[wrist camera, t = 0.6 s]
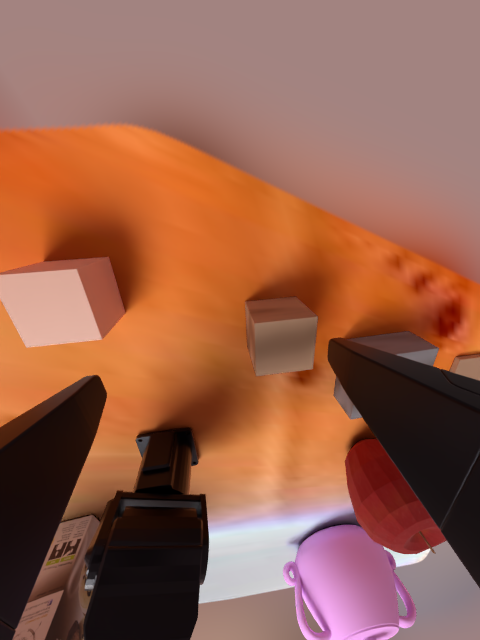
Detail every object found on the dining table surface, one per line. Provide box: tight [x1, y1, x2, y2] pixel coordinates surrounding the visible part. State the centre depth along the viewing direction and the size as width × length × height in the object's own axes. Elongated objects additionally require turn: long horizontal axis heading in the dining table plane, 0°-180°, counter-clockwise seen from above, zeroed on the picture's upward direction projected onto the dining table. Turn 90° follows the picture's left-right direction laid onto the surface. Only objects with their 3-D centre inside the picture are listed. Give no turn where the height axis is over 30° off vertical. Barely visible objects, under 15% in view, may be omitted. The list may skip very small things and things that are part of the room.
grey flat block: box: [334, 331, 439, 419], centre depth 25 cm, size 8×8×4 cm
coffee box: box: [13, 515, 100, 640], centre depth 26 cm, size 9×6×16 cm
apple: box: [345, 439, 447, 554], centre depth 28 cm, size 11×11×12 cm
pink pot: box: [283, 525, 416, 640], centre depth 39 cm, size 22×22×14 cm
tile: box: [450, 354, 480, 381], centre depth 29 cm, size 7×7×1 cm
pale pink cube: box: [0, 257, 125, 348], centre depth 17 cm, size 5×5×5 cm
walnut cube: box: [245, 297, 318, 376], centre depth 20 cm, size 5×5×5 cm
